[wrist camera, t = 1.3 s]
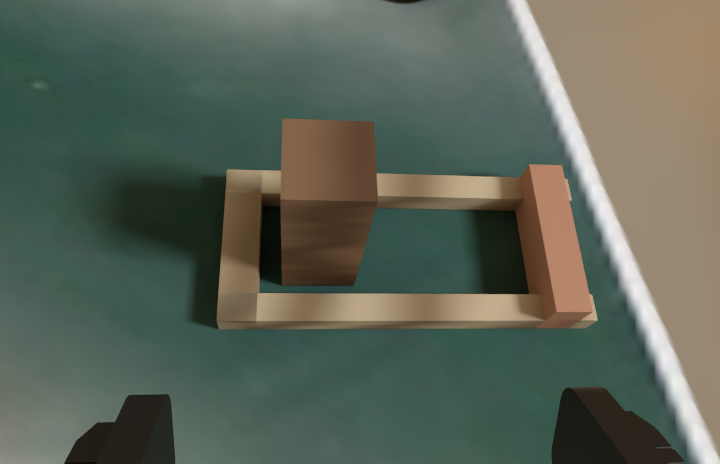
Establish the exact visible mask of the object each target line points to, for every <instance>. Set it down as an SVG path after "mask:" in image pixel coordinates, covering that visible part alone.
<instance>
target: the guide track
mask: <svg viewBox="0 0 720 464" xmlns="http://www.w3.org/2000/svg"><path fill="white" fill-rule="evenodd" d="M377 190H378V204H377V207H376V208H404V209H452V210H501V211H515V212H516V218H517V224H518V230H519V236H520V242H521V248H522V254H523V260H524V266H525V272H526V278H527V284H528V290H529V294H314V293H259V280H260V255H261V230H262V206H281V202H280V197H281V171H264V170H227V179H226V193H225V207H224V222H223V236H222V250H221V264H220V278H219V292H218V306H217V320H216V321H217V324H218V327H219V329H487V328H586V327H588V326H590V325H591V324H593V323H594V322H596V321H597V315H596V311H595V306H594V301H593V297H592V295H589V291H588V286H587V281H586V277H585V272H584V267H583V262H582V258H581V253H580V248H579V244H578V239H577V234H576V230H575V225H574V220H573V216H572V211H571V206H570V202H571V201H572V199H571V195H570V190H569V185H568V181H567V179H565V178H564V173H563V169H562V165H532V164H529V166H528V167H527V168H526V170H525V171H524V173H523V174H522V176H521V177H520V178H518V177H482V176H446V175H409V174H377Z"/></svg>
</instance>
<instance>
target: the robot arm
mask: <svg viewBox="0 0 720 464" xmlns="http://www.w3.org/2000/svg"><path fill="white" fill-rule="evenodd" d="M65 464H175V450H174V436H173V423H172V409H171V400H170V396H169V395H168V394H162V395H129V396H128V397H127V398H126V400H125V402H124V404H123V406H122V409H121V411H120V413H119V415H118V417H117V419H116V421H115V422H105V423H96V424H95V425H94V426H93V427H92V428H91V429H90V430H88V431H87V432H86V433H85V434H84V435H83V436H81V437H80V438H79V439H78V440H77V441H76V442H75V444H74V446H73V448H72V450H71V452H70V453H69V455H68V457H67V459H66V461H65ZM552 464H685V461H684V460H683V459H682V458H681V456H680V455H679V454H678V453H677V452H676V451H675V450H674V449H671V445H670V444H669V443H668V442H667V440H666V439H665V438H664V437H663V436H662V435H661V434H660V432H659V431H658V430H657V429H656V428H655V427H654V426H652V425H651V424H649V423H648V422H647V421H645V420H644V419H642V418H641V417H639V416H638V415H636V414H635V413H633V412H632V411H624V410H623V408H622V407H621V406H620V405H619V404H618V402H617V401H616V400H615V399H614V398H613V397H612V395H611V394H610V393H609V392H608V391H607V390H606V389H605V388H603V387H580V388H566V389H565V390H564V391H563V393H562V396H561V401H560V406H559V412H558V417H557V423H556V428H555V434H554V439H553V445H552Z"/></svg>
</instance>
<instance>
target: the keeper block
mask: <svg viewBox="0 0 720 464" xmlns="http://www.w3.org/2000/svg"><path fill="white" fill-rule="evenodd" d="M280 202H281V256H282V286H354V283H355V279H356V276H357V272H358V269H359V265H360V262H361V259H362V255H363V252H364V248H365V245H366V241H367V238H368V235H369V231H370V228H371V224H372V221H373V217H374V214H375V211H376V207H377V204H378V190H377V172H376V154H375V136H374V122H362V121H336V120H309V119H283V118H282V157H281V197H280Z"/></svg>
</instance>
